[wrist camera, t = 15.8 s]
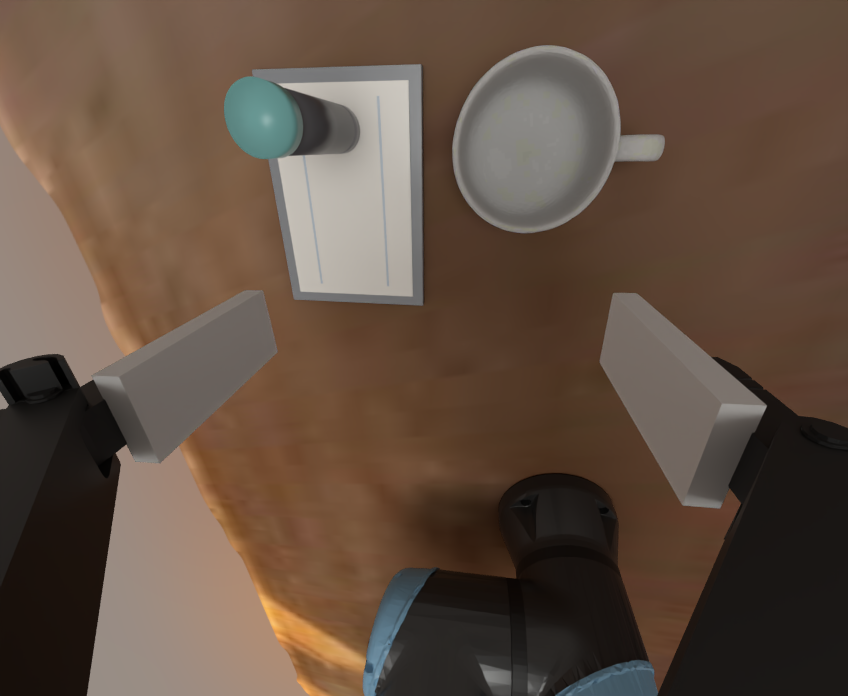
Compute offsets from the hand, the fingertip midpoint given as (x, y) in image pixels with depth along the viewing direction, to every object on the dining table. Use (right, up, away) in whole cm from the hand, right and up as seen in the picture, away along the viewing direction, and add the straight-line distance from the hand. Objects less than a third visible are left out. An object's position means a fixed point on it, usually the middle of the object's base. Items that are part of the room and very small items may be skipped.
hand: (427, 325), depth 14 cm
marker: (-7, +18, +17) cm, 26 cm away
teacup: (+10, +16, +17) cm, 25 cm away
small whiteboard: (-7, +13, +21) cm, 26 cm away
